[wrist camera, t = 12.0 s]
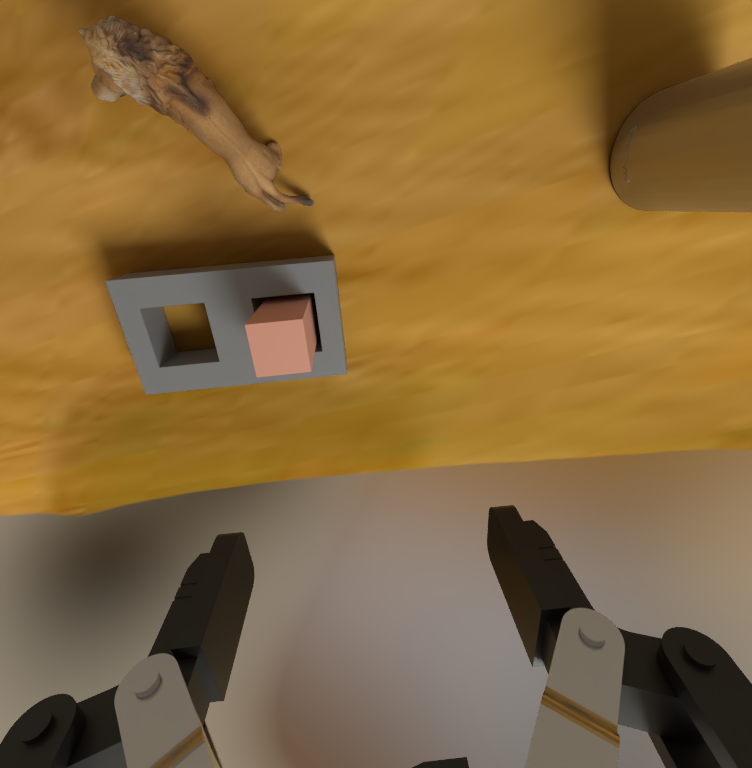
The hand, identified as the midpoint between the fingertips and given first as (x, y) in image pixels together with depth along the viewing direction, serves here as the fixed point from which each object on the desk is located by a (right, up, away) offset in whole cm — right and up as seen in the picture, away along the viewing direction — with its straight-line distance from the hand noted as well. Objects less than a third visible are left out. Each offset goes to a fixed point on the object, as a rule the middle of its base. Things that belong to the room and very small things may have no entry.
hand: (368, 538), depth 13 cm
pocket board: (-12, +11, +24) cm, 29 cm away
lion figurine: (-11, +24, +18) cm, 33 cm away
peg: (-7, +12, +24) cm, 28 cm away
